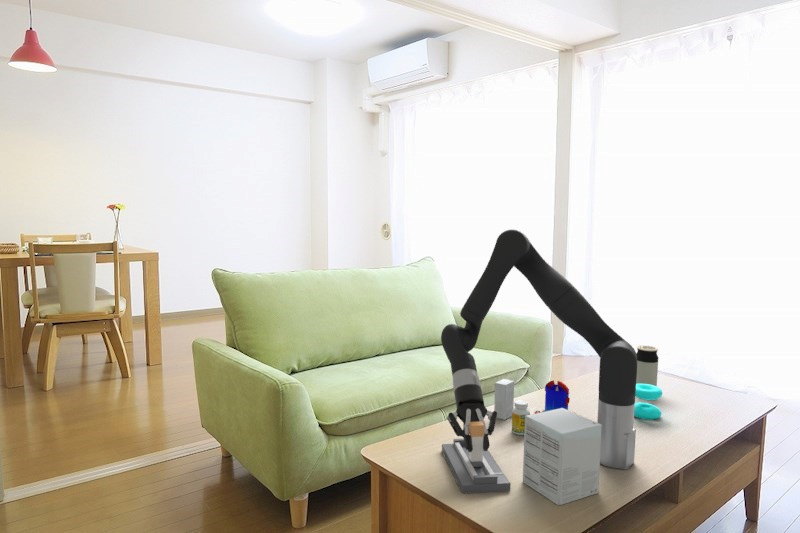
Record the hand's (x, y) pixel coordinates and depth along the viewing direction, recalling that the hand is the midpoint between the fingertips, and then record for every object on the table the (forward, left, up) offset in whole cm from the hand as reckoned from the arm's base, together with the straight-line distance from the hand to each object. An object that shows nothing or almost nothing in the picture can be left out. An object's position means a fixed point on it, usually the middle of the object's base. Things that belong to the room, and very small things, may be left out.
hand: (478, 450), depth 140 cm
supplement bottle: (+7, -33, -7) cm, 35 cm away
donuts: (-16, -76, -7) cm, 79 cm away
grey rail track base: (+3, -2, -7) cm, 8 cm away
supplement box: (-18, -9, -7) cm, 22 cm away
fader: (+2, -1, -5) cm, 5 cm away
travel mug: (-8, -100, -7) cm, 101 cm away
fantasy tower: (+6, -55, -7) cm, 56 cm away
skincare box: (+18, -41, -7) cm, 46 cm away
